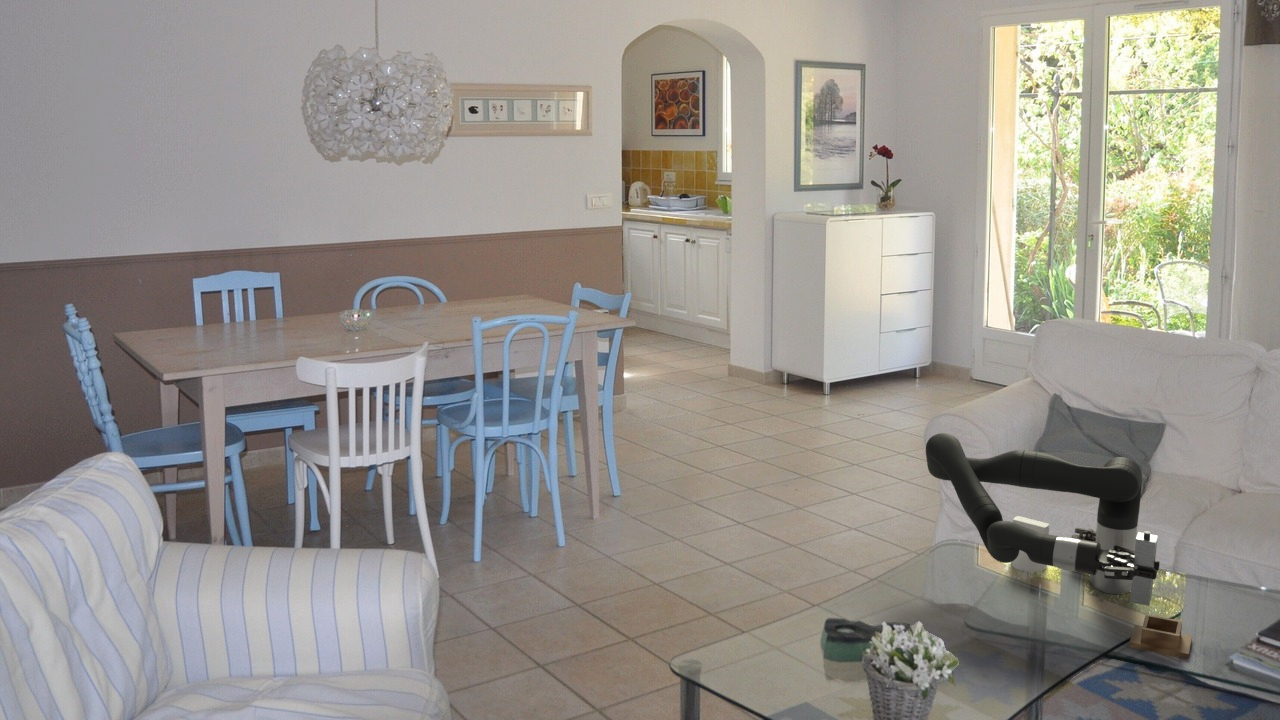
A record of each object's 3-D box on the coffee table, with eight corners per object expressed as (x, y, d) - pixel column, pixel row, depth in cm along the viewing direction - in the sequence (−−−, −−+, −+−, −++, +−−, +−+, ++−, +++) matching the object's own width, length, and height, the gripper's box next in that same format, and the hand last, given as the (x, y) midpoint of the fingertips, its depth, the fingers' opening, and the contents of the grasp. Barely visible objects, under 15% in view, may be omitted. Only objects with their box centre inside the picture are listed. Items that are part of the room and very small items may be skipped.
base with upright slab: (1052, 562, 294) (1055, 520, 291) (1037, 574, 288) (1040, 531, 285) (1019, 553, 300) (1022, 512, 297) (1004, 565, 294) (1006, 522, 291)
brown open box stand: (1129, 646, 252) (1130, 628, 251) (1134, 629, 259) (1135, 610, 258) (1188, 658, 246) (1190, 639, 245) (1191, 640, 254) (1193, 621, 252)
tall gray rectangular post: (1129, 602, 252) (1136, 533, 247) (1132, 594, 255) (1138, 527, 251) (1149, 606, 250) (1156, 537, 245) (1151, 598, 253) (1158, 530, 249)
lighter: (1103, 565, 291) (1106, 530, 289) (1101, 570, 289) (1103, 534, 286) (1071, 559, 296) (1073, 524, 293) (1068, 564, 293) (1070, 529, 290)
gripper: (1071, 552, 250) (1155, 567, 242) (1083, 528, 262) (1163, 542, 254) (1069, 582, 252) (1152, 599, 244) (1080, 558, 264) (1160, 572, 256)
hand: (1157, 570), depth 249 cm, fingers closed on tall gray rectangular post, 4 cm apart
